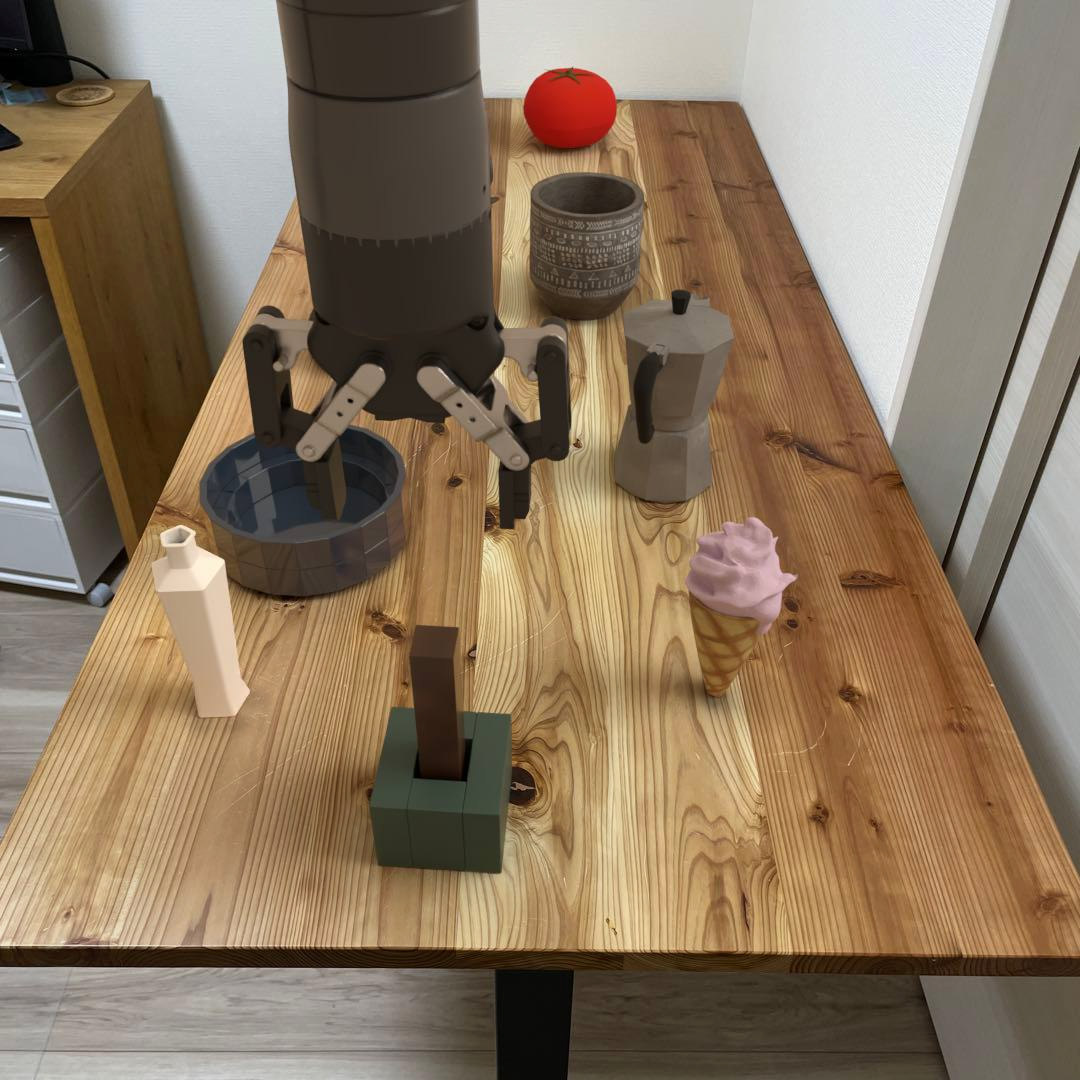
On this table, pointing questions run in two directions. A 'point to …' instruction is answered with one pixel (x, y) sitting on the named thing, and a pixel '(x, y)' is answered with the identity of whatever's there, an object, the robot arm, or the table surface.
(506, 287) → the table surface
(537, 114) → the tomato
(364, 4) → the robot arm
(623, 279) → the planter
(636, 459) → the coffeepot
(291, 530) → the bowl
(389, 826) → the holder
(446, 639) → the brown rectangular peg
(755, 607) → the ice cream cone
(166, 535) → the perfume bottle
